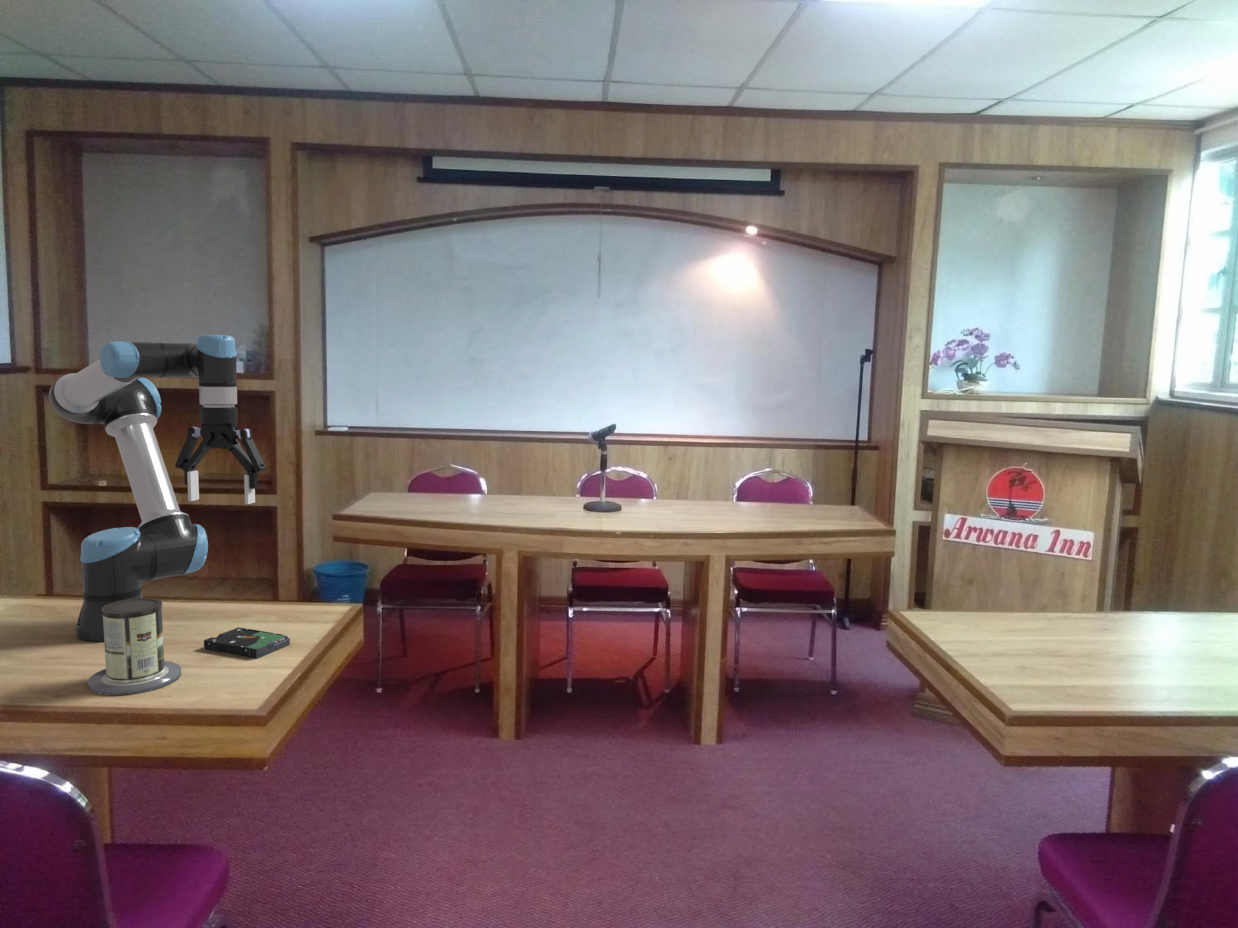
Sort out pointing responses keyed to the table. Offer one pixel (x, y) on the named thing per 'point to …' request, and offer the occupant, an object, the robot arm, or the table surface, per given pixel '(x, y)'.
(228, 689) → the table surface
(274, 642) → the disk drive
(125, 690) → the grey flat disc
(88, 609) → the robot arm
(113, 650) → the coffee can
